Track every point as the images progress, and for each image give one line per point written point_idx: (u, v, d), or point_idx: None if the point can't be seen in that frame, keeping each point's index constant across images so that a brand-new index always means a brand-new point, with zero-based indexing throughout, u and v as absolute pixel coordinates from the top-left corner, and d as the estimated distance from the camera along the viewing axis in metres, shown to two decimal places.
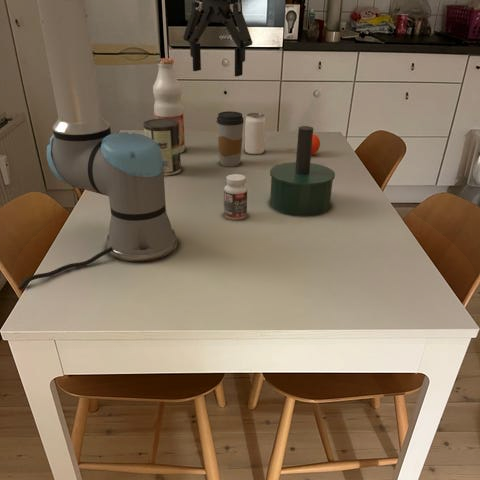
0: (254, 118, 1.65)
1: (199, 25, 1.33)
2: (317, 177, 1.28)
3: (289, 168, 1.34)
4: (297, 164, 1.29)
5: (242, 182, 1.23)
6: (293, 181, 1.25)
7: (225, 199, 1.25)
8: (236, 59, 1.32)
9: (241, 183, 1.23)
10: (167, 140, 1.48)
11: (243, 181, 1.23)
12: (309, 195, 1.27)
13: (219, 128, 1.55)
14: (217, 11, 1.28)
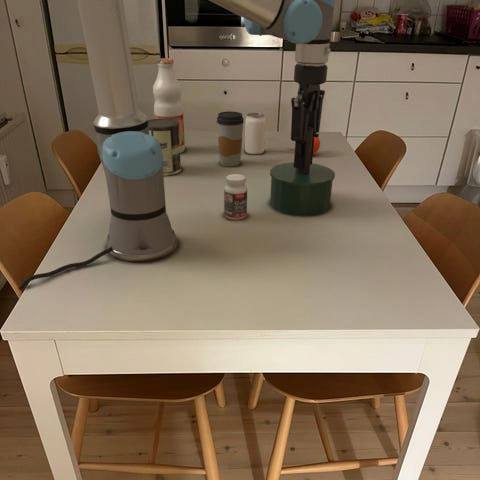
0: (254, 118, 1.65)
1: None
2: (317, 177, 1.28)
3: (289, 168, 1.34)
4: None
5: (242, 182, 1.23)
6: (293, 181, 1.25)
7: (225, 199, 1.25)
8: None
9: (241, 183, 1.23)
10: (167, 140, 1.48)
11: (243, 181, 1.23)
12: (309, 195, 1.27)
13: (219, 128, 1.55)
14: None
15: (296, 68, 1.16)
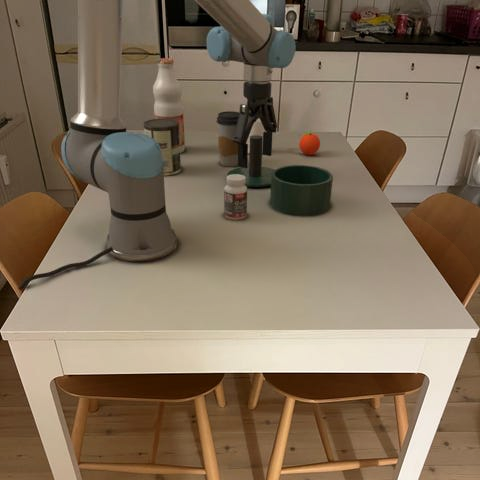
0: None
1: None
2: (267, 179, 1.48)
3: (244, 171, 1.53)
4: (250, 168, 1.49)
5: (242, 182, 1.23)
6: (245, 183, 1.45)
7: (225, 199, 1.25)
8: None
9: (241, 183, 1.23)
10: (167, 140, 1.48)
11: (243, 181, 1.23)
12: (309, 195, 1.27)
13: (219, 128, 1.55)
14: None
15: (244, 85, 1.36)
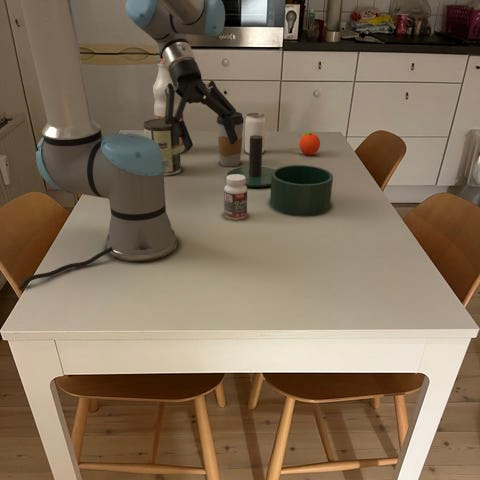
0: (254, 118, 1.65)
1: None
2: (267, 179, 1.48)
3: (244, 171, 1.53)
4: (250, 168, 1.49)
5: (242, 182, 1.23)
6: (245, 183, 1.45)
7: (225, 199, 1.25)
8: None
9: (241, 183, 1.23)
10: (167, 140, 1.48)
11: (243, 181, 1.23)
12: (309, 195, 1.27)
13: (219, 128, 1.55)
14: None
15: (170, 76, 1.30)
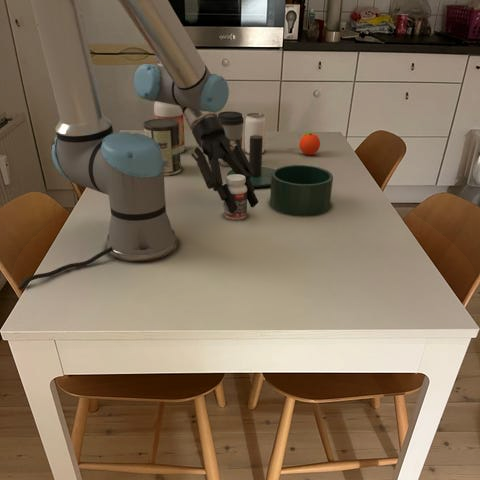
0: (254, 118, 1.65)
1: None
2: (267, 179, 1.48)
3: None
4: None
5: (242, 182, 1.23)
6: None
7: None
8: None
9: (241, 183, 1.23)
10: (167, 140, 1.48)
11: (243, 181, 1.23)
12: (309, 195, 1.27)
13: None
14: None
15: None
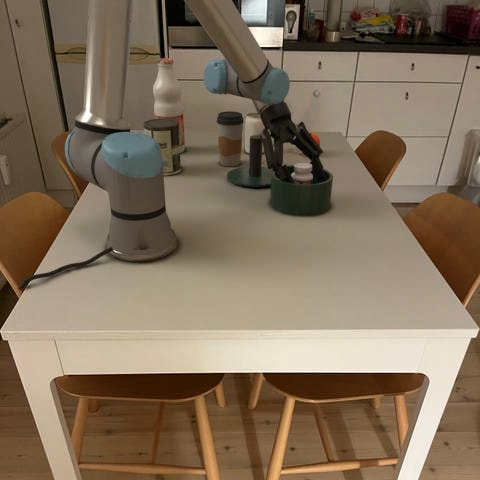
0: (254, 118, 1.65)
1: None
2: (267, 179, 1.48)
3: (244, 171, 1.53)
4: (250, 168, 1.49)
5: (309, 170, 1.29)
6: (245, 183, 1.45)
7: None
8: None
9: (308, 171, 1.29)
10: (167, 140, 1.48)
11: (310, 169, 1.29)
12: (309, 195, 1.27)
13: (219, 128, 1.55)
14: None
15: (260, 118, 1.32)
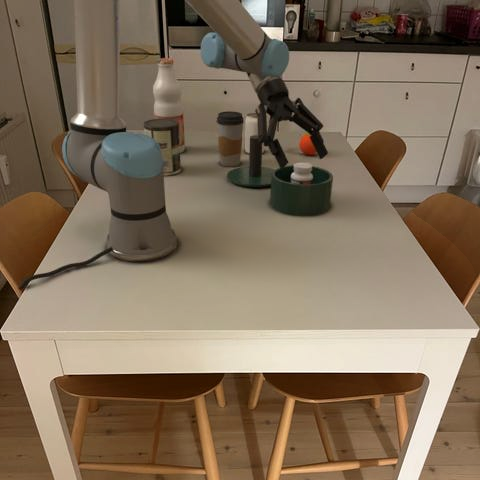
0: (254, 118, 1.65)
1: None
2: (267, 179, 1.48)
3: (244, 171, 1.53)
4: (250, 168, 1.49)
5: (309, 170, 1.29)
6: (245, 183, 1.45)
7: None
8: None
9: (308, 171, 1.29)
10: (167, 140, 1.48)
11: (310, 169, 1.29)
12: (309, 195, 1.27)
13: (219, 128, 1.55)
14: None
15: None
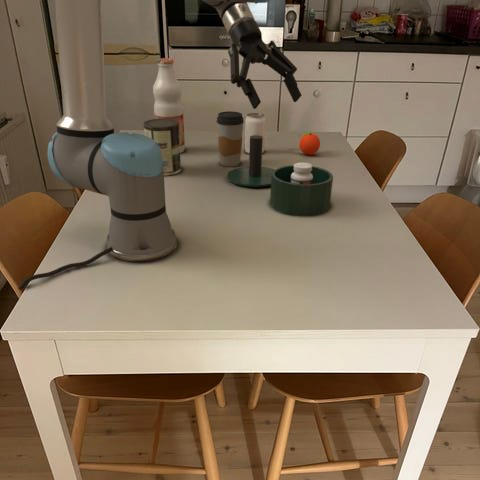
0: (254, 118, 1.65)
1: None
2: (267, 179, 1.48)
3: (244, 171, 1.53)
4: (250, 168, 1.49)
5: (309, 170, 1.29)
6: (245, 183, 1.45)
7: None
8: None
9: (308, 171, 1.29)
10: (167, 140, 1.48)
11: (310, 169, 1.29)
12: (309, 195, 1.27)
13: (219, 128, 1.55)
14: None
15: None
